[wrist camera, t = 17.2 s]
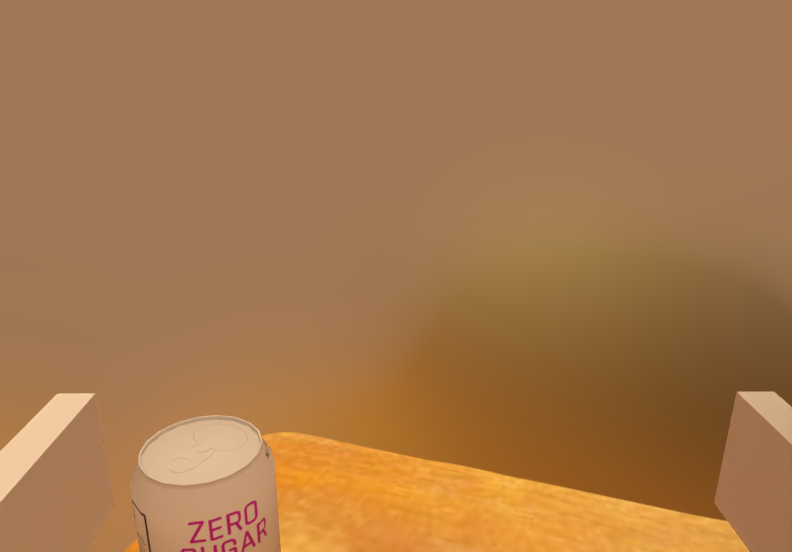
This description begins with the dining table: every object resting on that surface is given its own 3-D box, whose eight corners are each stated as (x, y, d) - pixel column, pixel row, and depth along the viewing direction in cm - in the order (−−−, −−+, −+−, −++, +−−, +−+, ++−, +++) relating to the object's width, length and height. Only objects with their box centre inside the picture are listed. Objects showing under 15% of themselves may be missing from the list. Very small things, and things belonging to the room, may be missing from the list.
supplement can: (221, 574, 47) (201, 398, 42) (310, 620, 43) (300, 432, 38) (130, 659, 40) (94, 462, 36) (226, 722, 37) (201, 511, 32)
